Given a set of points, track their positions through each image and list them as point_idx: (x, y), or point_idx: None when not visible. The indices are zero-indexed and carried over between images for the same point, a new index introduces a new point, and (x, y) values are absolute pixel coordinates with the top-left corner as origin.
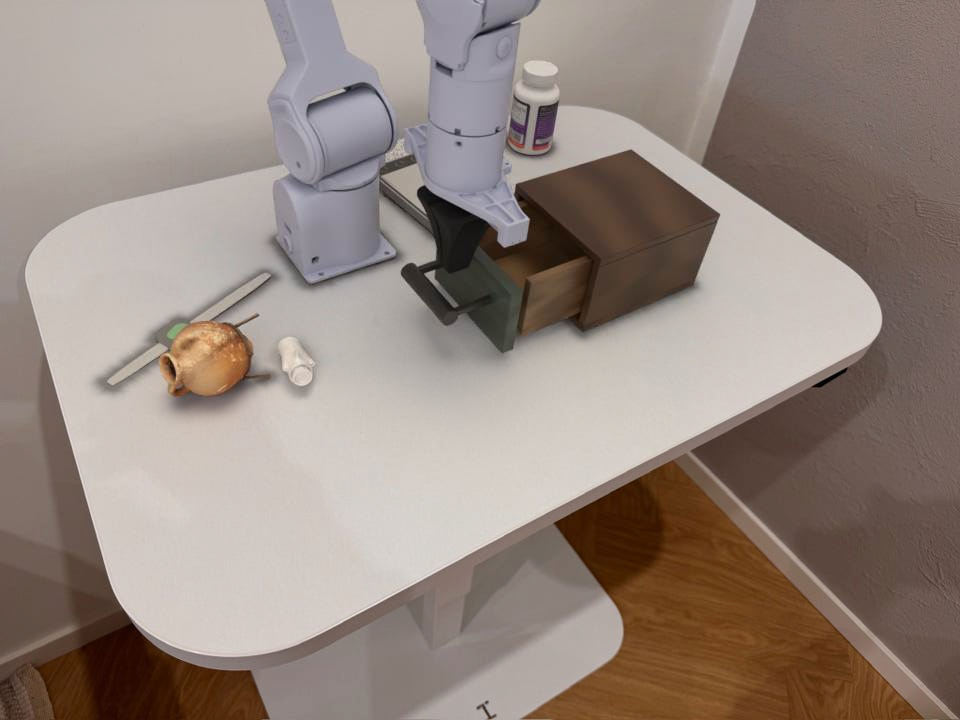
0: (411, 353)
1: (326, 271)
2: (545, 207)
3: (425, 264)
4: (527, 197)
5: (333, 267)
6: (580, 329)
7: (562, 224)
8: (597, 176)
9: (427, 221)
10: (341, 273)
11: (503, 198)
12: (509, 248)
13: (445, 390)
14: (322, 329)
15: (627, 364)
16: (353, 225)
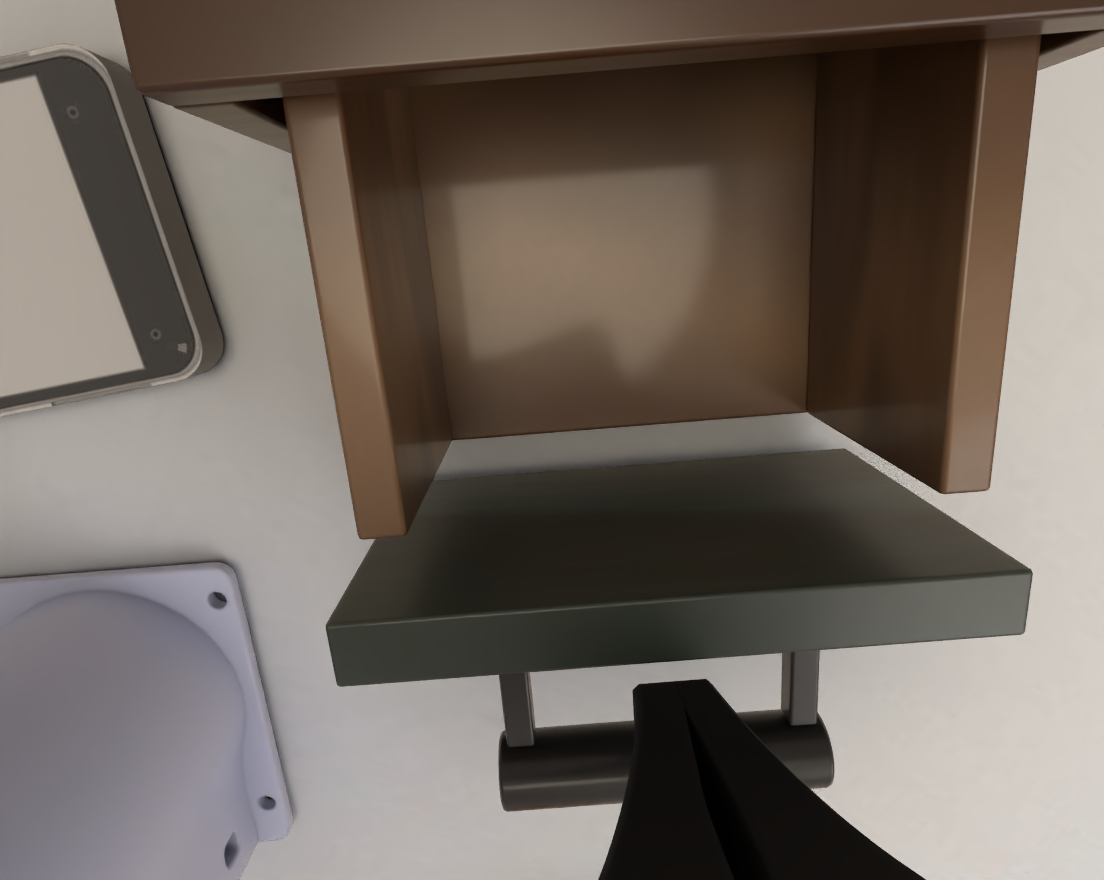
0: None
1: (258, 787)
2: (507, 38)
3: (510, 719)
4: (313, 85)
5: (245, 765)
6: None
7: (750, 37)
8: None
9: (67, 402)
10: (274, 745)
11: None
12: (417, 221)
13: (836, 664)
14: (481, 843)
15: (1088, 66)
16: (160, 839)
